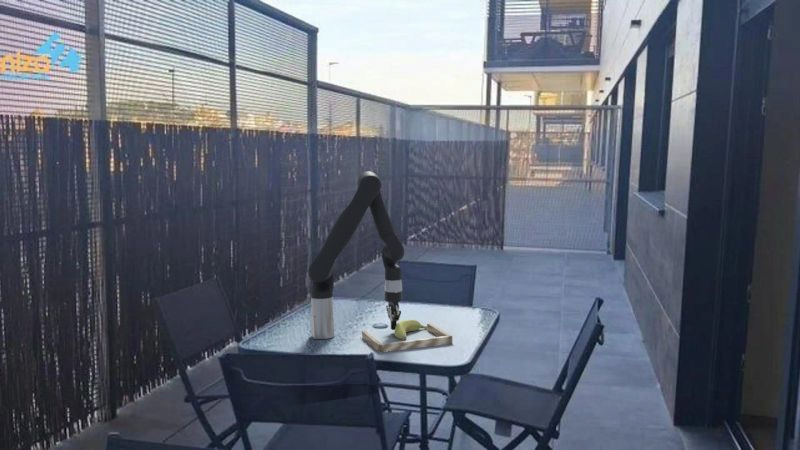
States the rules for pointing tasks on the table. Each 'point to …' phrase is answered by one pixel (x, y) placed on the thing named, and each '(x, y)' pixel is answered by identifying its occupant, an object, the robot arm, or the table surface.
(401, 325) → the banana
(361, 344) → the table surface
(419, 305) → the table surface
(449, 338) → the wooden rimmed tray
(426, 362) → the table surface
